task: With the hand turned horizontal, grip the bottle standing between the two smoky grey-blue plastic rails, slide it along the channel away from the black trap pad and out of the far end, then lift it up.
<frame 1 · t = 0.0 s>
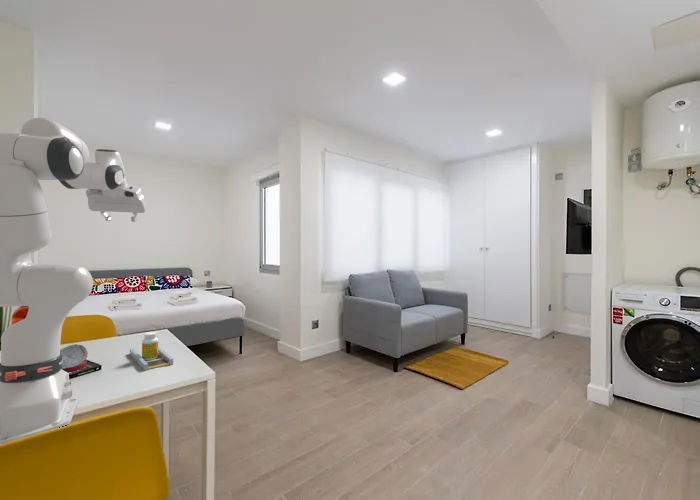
hand: (121, 220, 138), 54 cm above the table, tool tilted 30°, fingers open, 8 cm apart
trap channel: (150, 358, 127), on the table
supplement bottle: (150, 358, 127), resting in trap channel
canned food: (68, 372, 113), on the table
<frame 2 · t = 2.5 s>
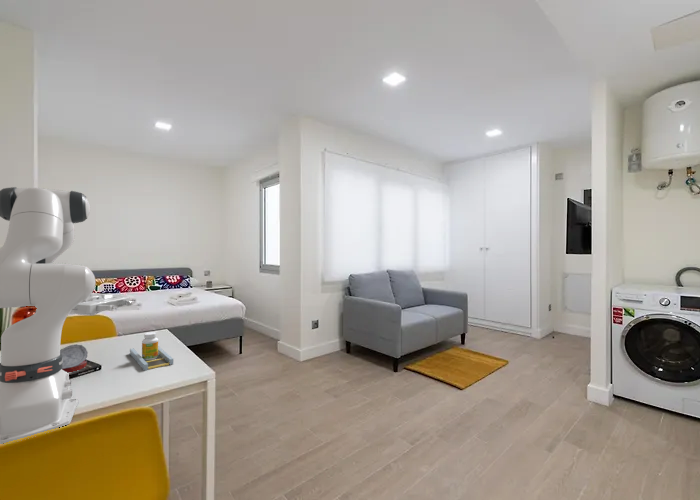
hand: (122, 305, 128), 20 cm above the table, tool horizontal, fingers open, 8 cm apart
nothing on the table moved.
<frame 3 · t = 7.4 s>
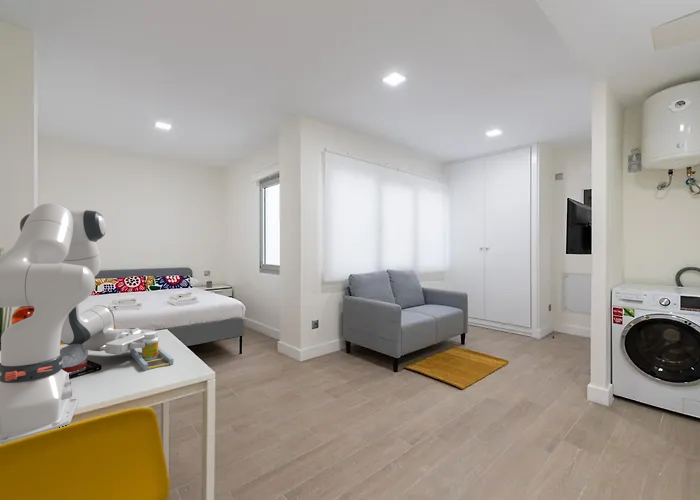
hand: (151, 342, 127), 6 cm above the table, tool horizontal, fingers closed on supplement bottle, 5 cm apart
supplement bottle: (150, 358, 127), resting in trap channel, touching gripper
canned food: (68, 371, 113), on the table, touching arm
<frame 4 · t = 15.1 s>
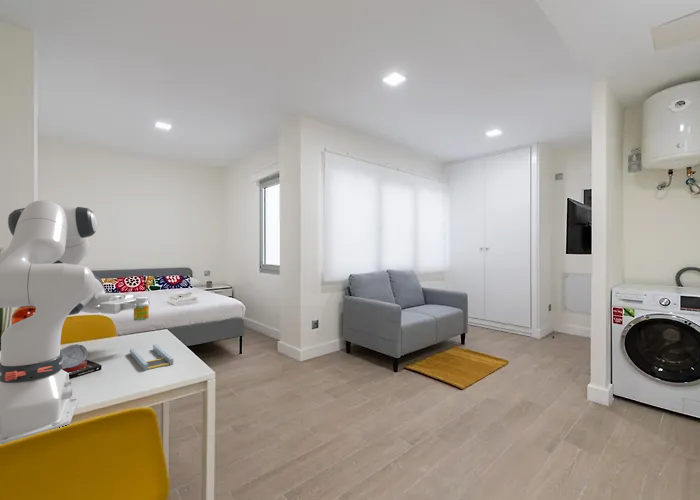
hand: (142, 304, 139), 19 cm above the table, tool horizontal, fingers closed on supplement bottle, 5 cm apart
supplement bottle: (141, 320, 139), point 12 cm above the table, touching gripper
canned food: (68, 372, 113), on the table
at the end: the gripper is holding supplement bottle; supplement bottle inside the target area (0.7 cm from its centre), point 11.8 cm above the table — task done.
